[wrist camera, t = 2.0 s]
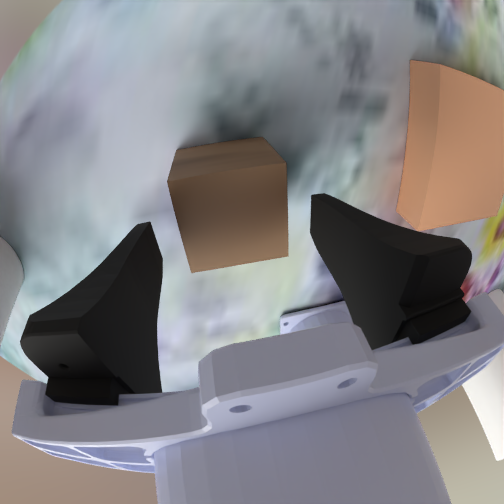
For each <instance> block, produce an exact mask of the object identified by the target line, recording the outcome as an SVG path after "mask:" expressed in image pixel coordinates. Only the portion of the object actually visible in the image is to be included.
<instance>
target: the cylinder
mask: <svg viewBox="0 0 504 504" xmlns="http://www.w3.org/2000/svg"><path fill="white" fill-rule="evenodd" d="M488 296H489V297H490V298H491V299H492V301H493V302H494V303H495V305H496V306H497V307H498V309H499V310H500V311H501V313H502V314H503V315H504V293H503V292H502V291H501V289H496V290H494V291H491V292H490V293H488ZM462 386H463V387H464V390H465V392H466V393H467V395H468V397H469V399H470V401H471V403H472V405H473V407H474V410H475V412H476V414H477V416H478V418H479V420H480V422H481V424H482V427H483V429H484V431H485V434H486V436H487V438H488V441H489V443H490V446H491V448H492V451H493V453H494V456H495V458H496V460H502V459H504V348H503V349H502V350H501V351H500V353H499V354H498V355H497V356H496V357H495V358H494V359H493V360H492V361H491V363H490V364H489V365H488V366H487V367H486V368H484V369H483V370H482V371H480V372H479V373H478V374H476V375H475V376H473V377H472V378H471V379H469V380H468V381H466V382H465V383H463V384H462Z"/></svg>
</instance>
